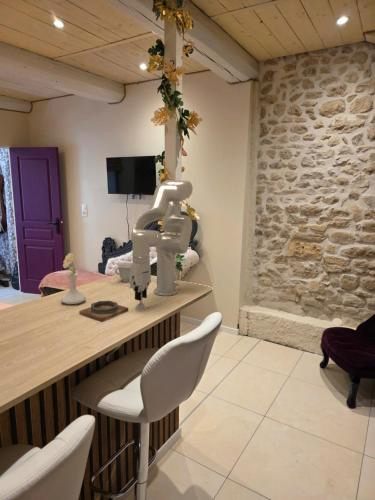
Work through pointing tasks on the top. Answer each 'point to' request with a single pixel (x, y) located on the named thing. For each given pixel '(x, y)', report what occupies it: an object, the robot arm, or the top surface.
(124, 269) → the teacup
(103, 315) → the display stand
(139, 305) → the chalice
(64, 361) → the top surface
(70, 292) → the flower in vase
